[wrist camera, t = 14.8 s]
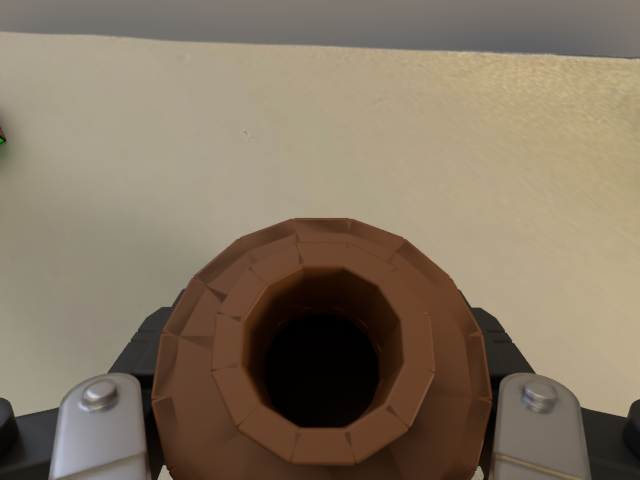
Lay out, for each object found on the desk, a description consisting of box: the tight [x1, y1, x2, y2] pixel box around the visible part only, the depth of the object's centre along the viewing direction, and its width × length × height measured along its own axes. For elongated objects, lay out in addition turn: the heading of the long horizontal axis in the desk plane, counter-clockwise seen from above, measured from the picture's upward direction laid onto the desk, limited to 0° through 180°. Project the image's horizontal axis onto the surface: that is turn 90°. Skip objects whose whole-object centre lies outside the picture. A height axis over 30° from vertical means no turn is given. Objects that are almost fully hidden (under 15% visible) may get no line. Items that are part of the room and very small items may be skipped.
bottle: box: [151, 218, 493, 480], centre depth 11 cm, size 6×6×11 cm
